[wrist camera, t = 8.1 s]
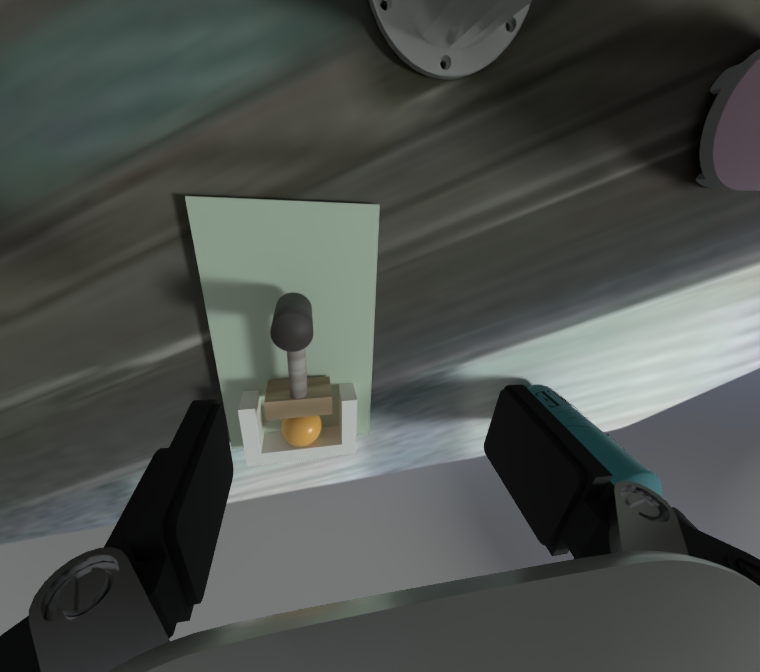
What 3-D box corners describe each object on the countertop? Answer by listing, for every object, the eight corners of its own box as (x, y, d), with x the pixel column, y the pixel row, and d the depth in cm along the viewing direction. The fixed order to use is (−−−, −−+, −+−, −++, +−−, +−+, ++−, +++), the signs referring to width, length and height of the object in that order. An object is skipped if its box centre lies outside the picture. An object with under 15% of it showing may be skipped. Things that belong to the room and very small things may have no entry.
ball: (281, 457, 31) (283, 433, 35) (323, 452, 32) (321, 429, 36) (278, 421, 30) (281, 400, 34) (321, 417, 31) (320, 397, 35)
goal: (243, 391, 32) (237, 410, 29) (353, 383, 34) (357, 399, 32) (251, 445, 35) (247, 466, 32) (352, 434, 37) (355, 453, 35)
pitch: (188, 195, 25) (184, 196, 24) (377, 204, 28) (379, 204, 27) (233, 442, 36) (232, 449, 35) (367, 428, 39) (369, 434, 38)
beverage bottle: (500, 423, 43) (637, 589, 26) (499, 383, 40) (653, 541, 22) (544, 408, 44) (707, 561, 26) (546, 369, 41) (732, 510, 23)
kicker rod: (257, 287, 28) (245, 314, 22) (327, 286, 29) (333, 312, 23) (269, 397, 33) (262, 444, 27) (329, 392, 34) (335, 436, 28)
